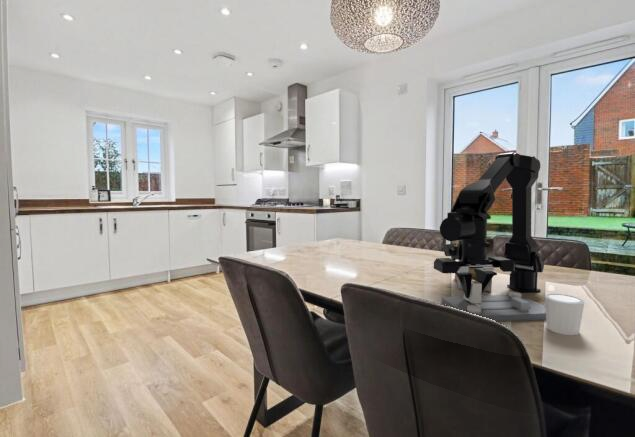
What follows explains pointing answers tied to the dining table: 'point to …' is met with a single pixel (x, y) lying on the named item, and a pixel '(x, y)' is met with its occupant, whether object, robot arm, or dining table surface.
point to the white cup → (563, 313)
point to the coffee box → (471, 270)
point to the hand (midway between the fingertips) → (472, 297)
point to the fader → (475, 292)
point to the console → (500, 307)
